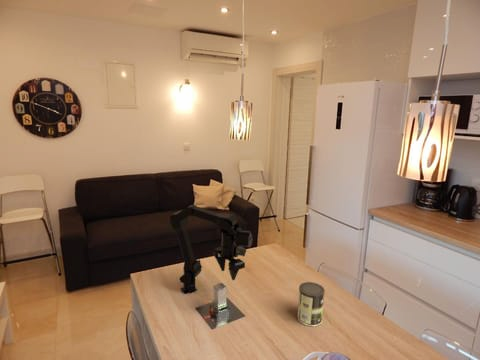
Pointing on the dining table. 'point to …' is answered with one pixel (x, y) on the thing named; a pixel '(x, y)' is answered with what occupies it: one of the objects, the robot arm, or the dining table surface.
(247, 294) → the dining table surface
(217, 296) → the post
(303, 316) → the coffee can
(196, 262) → the robot arm
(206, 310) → the stand base
